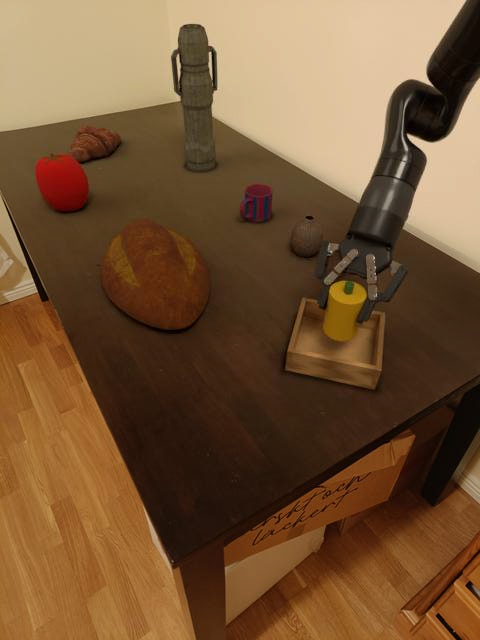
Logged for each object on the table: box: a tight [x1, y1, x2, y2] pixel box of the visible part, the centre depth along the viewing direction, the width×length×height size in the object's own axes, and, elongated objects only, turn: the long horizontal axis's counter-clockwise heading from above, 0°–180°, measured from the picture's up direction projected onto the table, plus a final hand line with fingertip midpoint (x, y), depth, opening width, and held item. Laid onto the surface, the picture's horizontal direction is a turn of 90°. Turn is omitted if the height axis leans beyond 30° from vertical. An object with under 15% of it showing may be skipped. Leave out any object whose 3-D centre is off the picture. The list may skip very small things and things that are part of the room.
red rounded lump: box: [34, 152, 90, 213], centre depth 106 cm, size 13×11×14 cm
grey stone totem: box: [170, 23, 219, 172], centre depth 116 cm, size 9×12×35 cm
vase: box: [290, 214, 324, 258], centre depth 93 cm, size 7×7×9 cm
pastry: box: [68, 125, 122, 163], centre depth 133 cm, size 17×15×8 cm
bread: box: [99, 218, 211, 331], centre depth 83 cm, size 21×33×12 cm, turn 21°
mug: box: [239, 183, 273, 223], centre depth 104 cm, size 7×10×7 cm
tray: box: [284, 297, 386, 390], centre depth 73 cm, size 15×14×5 cm
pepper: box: [323, 280, 368, 341], centre depth 67 cm, size 6×6×10 cm
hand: (340, 315), depth 67 cm, fingers closed on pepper, 5 cm apart
